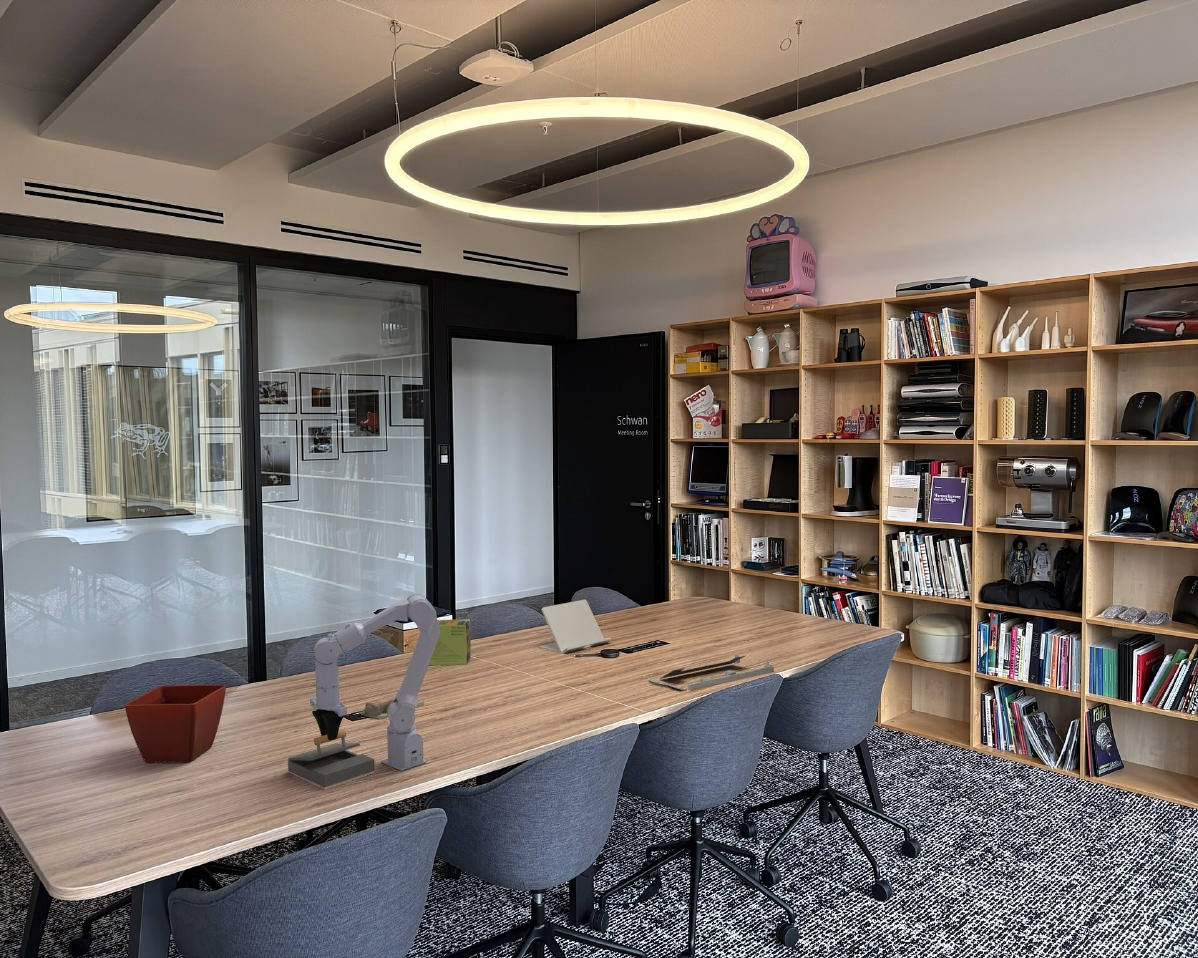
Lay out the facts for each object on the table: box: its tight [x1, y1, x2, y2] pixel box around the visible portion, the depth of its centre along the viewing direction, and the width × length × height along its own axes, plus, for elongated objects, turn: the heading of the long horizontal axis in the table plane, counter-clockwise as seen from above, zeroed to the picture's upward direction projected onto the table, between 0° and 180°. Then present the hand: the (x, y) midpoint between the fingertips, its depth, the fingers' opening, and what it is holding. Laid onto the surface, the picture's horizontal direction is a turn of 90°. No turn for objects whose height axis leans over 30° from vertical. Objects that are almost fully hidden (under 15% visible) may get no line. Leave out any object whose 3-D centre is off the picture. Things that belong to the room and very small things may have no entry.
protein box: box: [429, 618, 472, 666], centre depth 336 cm, size 10×15×16 cm
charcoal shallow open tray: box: [287, 749, 376, 791], centre depth 224 cm, size 18×14×4 cm
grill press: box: [287, 729, 361, 761], centre depth 226 cm, size 12×14×5 cm
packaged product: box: [359, 693, 425, 721], centre depth 276 cm, size 18×5×10 cm
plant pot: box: [124, 684, 227, 764], centre depth 238 cm, size 19×19×17 cm
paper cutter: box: [647, 654, 775, 691], centre depth 309 cm, size 18×45×6 cm, turn 124°
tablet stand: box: [538, 599, 612, 654], centre depth 359 cm, size 18×25×17 cm
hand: (329, 738), depth 224 cm, fingers open, 3 cm apart
